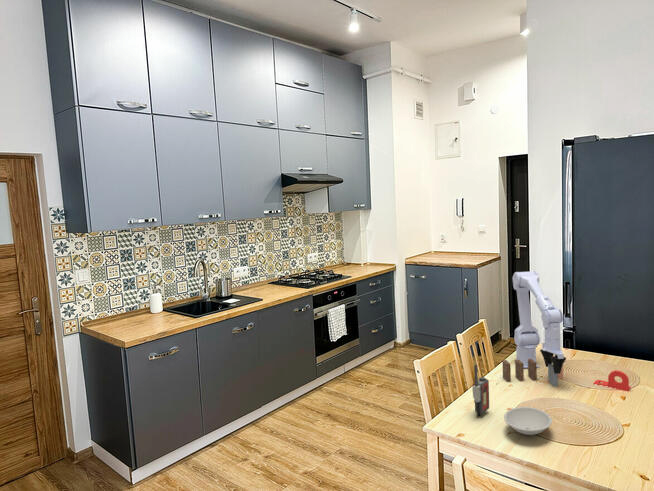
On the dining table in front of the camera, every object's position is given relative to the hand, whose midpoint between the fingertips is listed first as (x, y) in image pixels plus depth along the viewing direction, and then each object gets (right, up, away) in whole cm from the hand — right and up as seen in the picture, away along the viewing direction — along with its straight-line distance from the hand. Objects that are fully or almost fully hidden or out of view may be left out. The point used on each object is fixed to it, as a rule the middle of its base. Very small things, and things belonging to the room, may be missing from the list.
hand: (552, 369), depth 184 cm
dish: (-26, -11, -35) cm, 45 cm away
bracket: (+22, -6, -5) cm, 23 cm away
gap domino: (0, -6, +1) cm, 7 cm away
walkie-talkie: (-38, -11, -21) cm, 44 cm away
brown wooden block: (-16, -7, +8) cm, 19 cm away
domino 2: (-5, -6, +8) cm, 11 cm away
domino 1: (-10, -6, +8) cm, 15 cm away
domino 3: (+6, -6, +7) cm, 11 cm away
